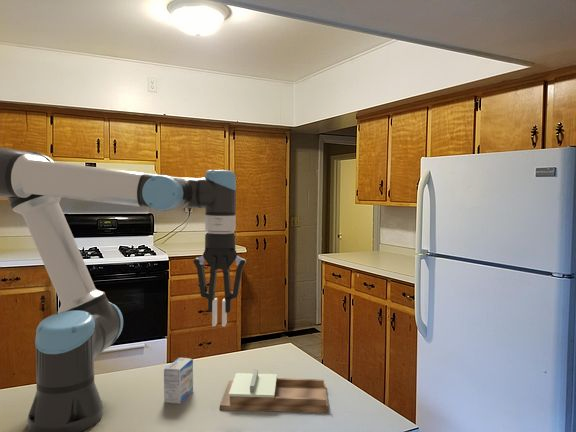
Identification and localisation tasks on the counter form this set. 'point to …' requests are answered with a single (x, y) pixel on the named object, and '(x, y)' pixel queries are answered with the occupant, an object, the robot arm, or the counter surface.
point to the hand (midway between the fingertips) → (219, 324)
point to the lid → (253, 385)
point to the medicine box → (178, 380)
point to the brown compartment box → (283, 397)
